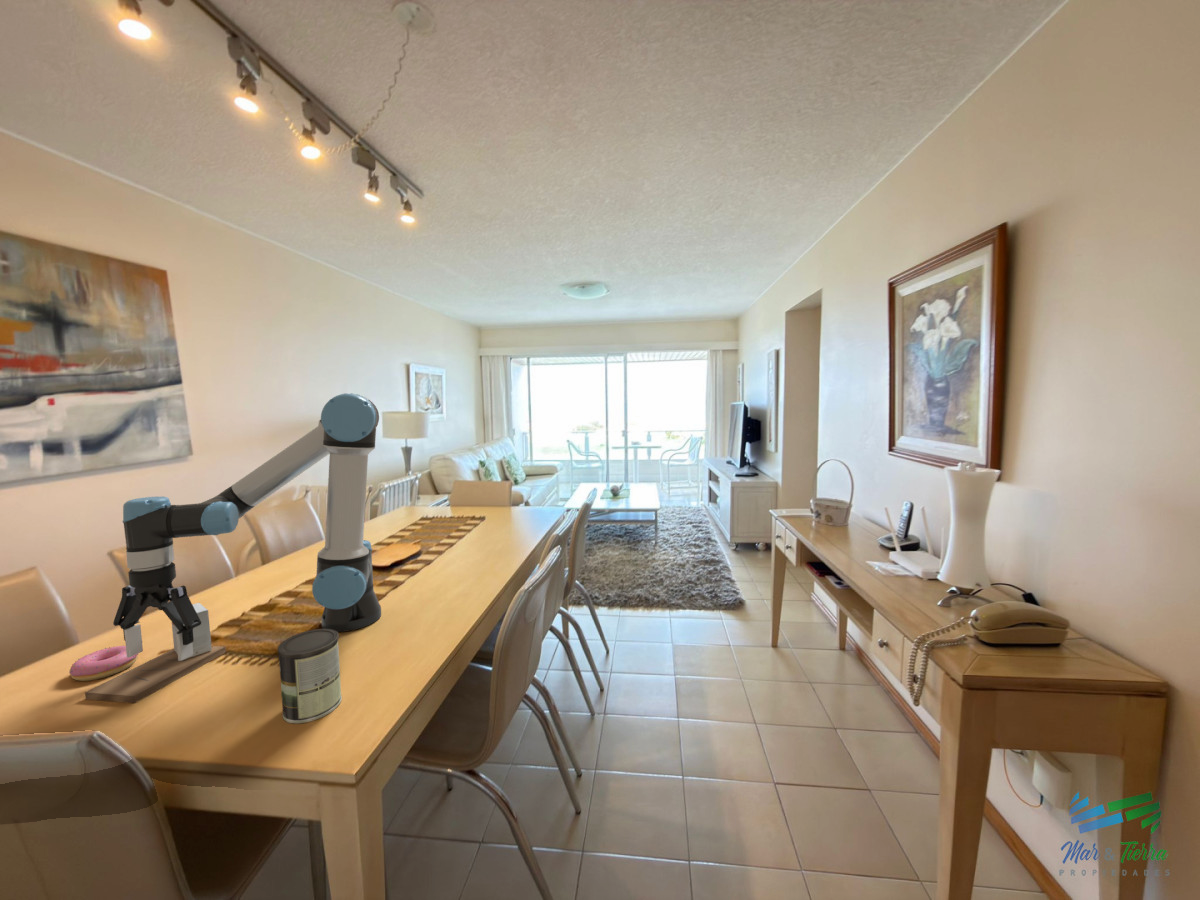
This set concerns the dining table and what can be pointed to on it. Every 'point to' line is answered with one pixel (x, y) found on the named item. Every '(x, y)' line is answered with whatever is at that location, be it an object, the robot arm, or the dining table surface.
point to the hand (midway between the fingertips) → (160, 656)
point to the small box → (198, 632)
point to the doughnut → (101, 664)
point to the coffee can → (310, 675)
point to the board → (150, 676)
